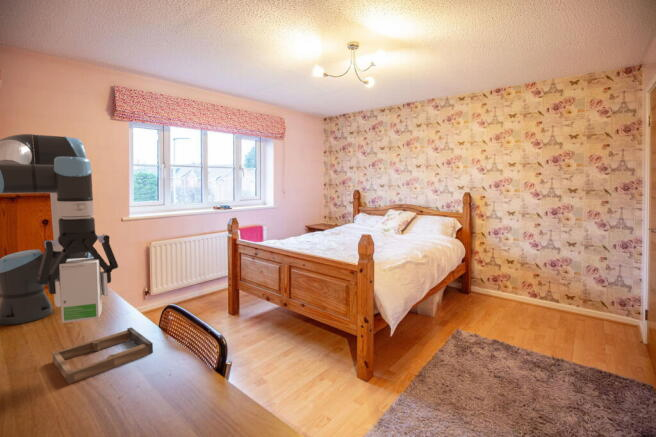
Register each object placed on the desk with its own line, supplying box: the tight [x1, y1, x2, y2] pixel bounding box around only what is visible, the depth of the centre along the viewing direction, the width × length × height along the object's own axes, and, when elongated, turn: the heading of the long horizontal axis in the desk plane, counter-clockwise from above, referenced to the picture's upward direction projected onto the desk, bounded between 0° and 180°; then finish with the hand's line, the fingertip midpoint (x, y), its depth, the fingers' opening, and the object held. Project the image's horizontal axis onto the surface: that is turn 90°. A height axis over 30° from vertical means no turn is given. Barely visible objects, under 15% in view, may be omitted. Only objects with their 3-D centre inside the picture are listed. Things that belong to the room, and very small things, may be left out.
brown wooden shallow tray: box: [51, 326, 154, 385], centre depth 95 cm, size 15×20×3 cm
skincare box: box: [59, 258, 103, 324], centre depth 89 cm, size 8×7×16 cm
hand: (82, 299), depth 89 cm, fingers closed on skincare box, 10 cm apart
